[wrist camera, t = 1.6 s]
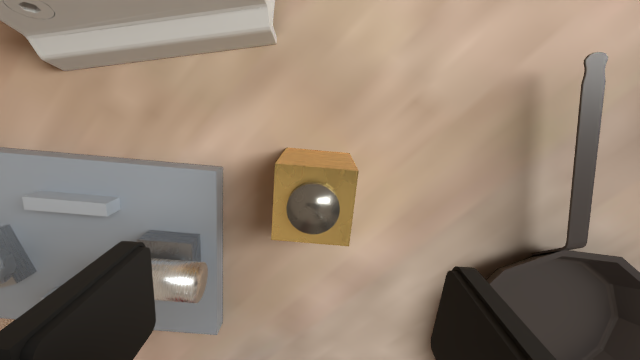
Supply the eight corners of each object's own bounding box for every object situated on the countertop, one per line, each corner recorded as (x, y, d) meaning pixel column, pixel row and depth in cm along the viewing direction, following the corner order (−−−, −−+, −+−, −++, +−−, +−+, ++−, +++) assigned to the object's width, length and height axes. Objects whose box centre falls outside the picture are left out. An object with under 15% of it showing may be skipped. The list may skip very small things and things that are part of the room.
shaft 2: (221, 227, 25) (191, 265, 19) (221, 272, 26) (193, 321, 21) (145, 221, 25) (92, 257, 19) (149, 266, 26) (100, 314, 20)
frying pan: (440, 403, 30) (455, 444, 27) (428, 77, 22) (449, 72, 18) (619, 386, 30) (661, 426, 26) (679, 42, 21) (751, 30, 18)
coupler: (342, 211, 25) (349, 250, 18) (283, 206, 25) (269, 244, 18) (349, 153, 23) (359, 173, 17) (286, 147, 23) (273, 165, 17)
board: (222, 166, 24) (209, 176, 21) (222, 322, 28) (210, 348, 25) (-43, 143, 23) (-95, 149, 21) (-6, 304, 27) (-44, 329, 24)
